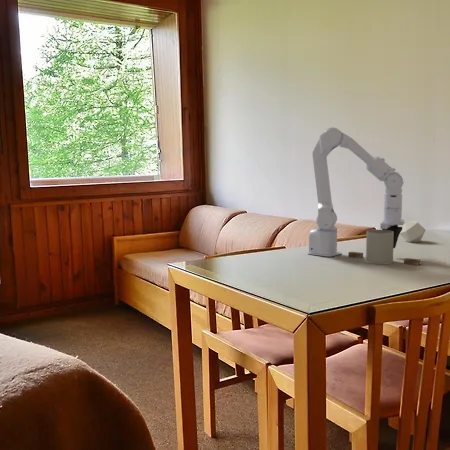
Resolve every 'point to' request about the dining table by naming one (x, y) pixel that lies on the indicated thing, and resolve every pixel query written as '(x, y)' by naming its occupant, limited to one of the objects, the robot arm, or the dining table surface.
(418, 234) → the die
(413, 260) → the pair of brown blocks
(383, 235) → the grey cylinder
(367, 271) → the dining table surface
